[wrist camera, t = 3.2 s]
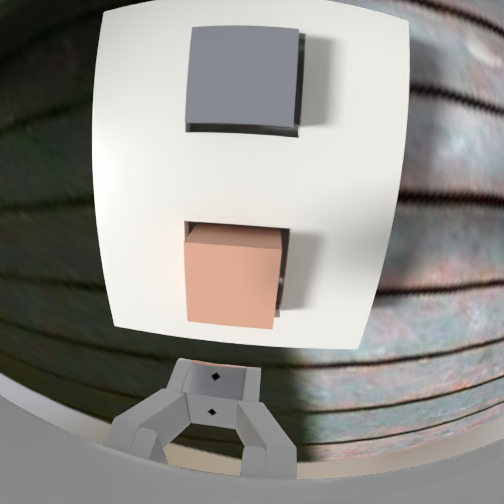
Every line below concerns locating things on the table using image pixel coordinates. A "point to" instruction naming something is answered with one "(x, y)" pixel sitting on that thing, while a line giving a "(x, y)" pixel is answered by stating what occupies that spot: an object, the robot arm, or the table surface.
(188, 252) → the terracotta key
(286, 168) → the button panel
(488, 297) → the table surface
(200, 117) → the charcoal key
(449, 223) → the table surface
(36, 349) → the table surface
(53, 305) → the table surface
